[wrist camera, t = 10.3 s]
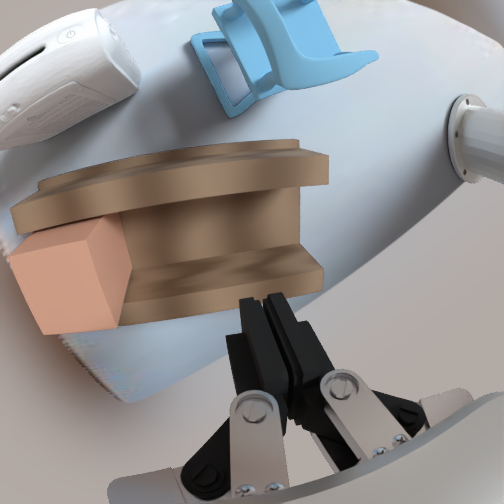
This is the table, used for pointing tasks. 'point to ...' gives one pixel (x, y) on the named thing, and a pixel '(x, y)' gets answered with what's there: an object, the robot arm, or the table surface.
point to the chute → (195, 223)
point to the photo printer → (62, 77)
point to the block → (74, 274)
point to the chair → (277, 48)
